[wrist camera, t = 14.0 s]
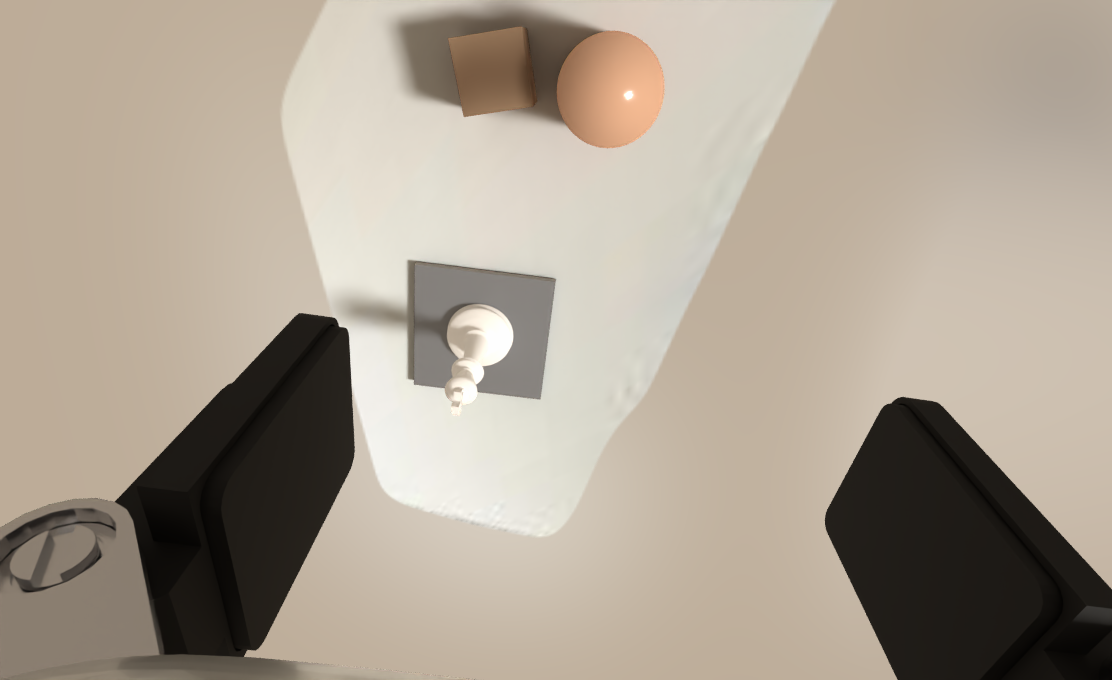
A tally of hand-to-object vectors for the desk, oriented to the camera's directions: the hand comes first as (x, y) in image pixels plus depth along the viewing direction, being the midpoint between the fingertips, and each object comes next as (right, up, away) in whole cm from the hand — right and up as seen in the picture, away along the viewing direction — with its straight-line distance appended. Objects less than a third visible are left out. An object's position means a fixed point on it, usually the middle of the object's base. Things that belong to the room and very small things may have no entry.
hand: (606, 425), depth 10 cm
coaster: (-6, +2, +33) cm, 33 cm away
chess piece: (-7, +2, +32) cm, 33 cm away
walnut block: (-4, +18, +25) cm, 31 cm away
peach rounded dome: (+2, +17, +25) cm, 30 cm away
